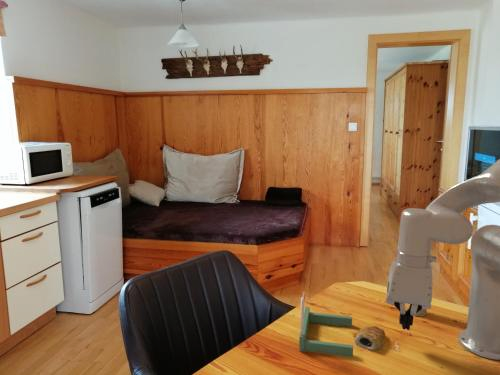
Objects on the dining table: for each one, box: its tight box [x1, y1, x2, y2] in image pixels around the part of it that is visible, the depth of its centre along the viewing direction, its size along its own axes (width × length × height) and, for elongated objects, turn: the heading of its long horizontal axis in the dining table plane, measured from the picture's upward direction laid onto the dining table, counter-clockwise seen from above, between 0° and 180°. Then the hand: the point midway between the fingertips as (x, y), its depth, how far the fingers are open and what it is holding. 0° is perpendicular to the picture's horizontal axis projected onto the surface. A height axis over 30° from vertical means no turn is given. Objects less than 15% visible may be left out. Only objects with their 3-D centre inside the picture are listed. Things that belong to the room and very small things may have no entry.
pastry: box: [353, 325, 386, 351], centre depth 103 cm, size 9×7×4 cm
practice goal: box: [298, 291, 354, 358], centre depth 104 cm, size 13×16×14 cm
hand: (405, 326), depth 99 cm, fingers closed
